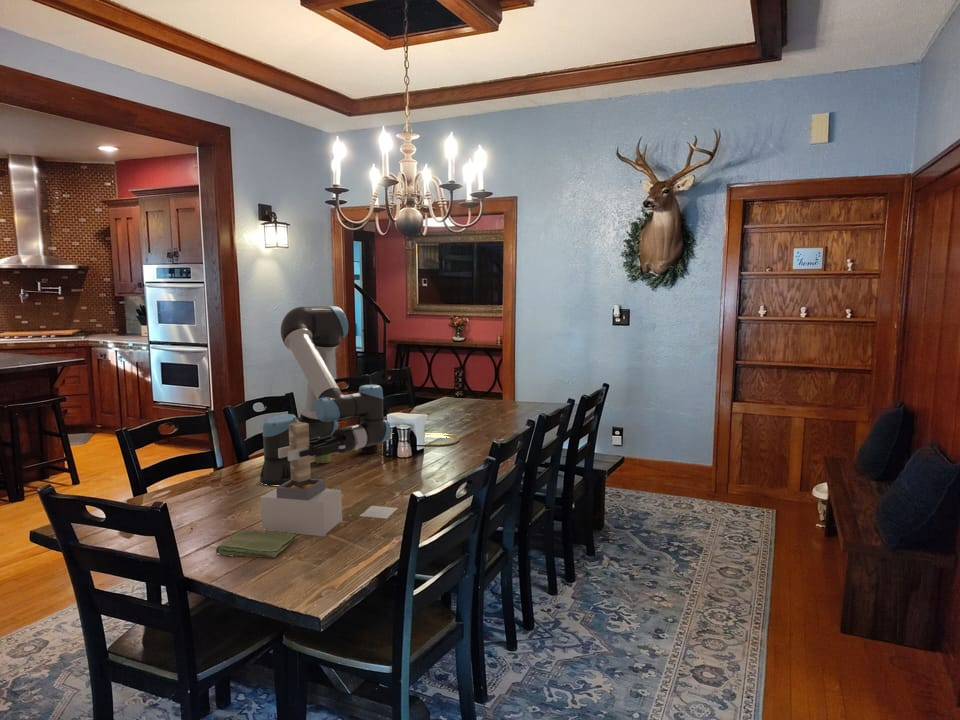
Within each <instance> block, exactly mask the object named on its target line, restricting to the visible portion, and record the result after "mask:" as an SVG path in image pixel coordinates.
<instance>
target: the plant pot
mask: <svg viewBox="0 0 960 720" xmlns="http://www.w3.org/2000/svg"><path fill="white" fill-rule="evenodd" d="M313 457H314V463H316V464H319V463H322V464H328V463H330V462H331V461H332V453H331V454H327V455H323V456H319V457H316V456H315V455H314V456H313Z"/></svg>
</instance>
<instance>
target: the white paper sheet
mask: <svg viewBox="0 0 960 720" xmlns="http://www.w3.org/2000/svg"><path fill="white" fill-rule="evenodd" d="M398 509H399V508H398V507H388V506H379V505H370V506H369V507H368V508H367V509H366V510H365V511H364V512H363V513H361V514H360V515H359V517H367V518H377V519H387V520H388V519H389V518H390V516H392V515H393V514H394V513H395V512H396V511H397V510H398Z"/></svg>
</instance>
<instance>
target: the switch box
mask: <svg viewBox="0 0 960 720" xmlns="http://www.w3.org/2000/svg"><path fill="white" fill-rule="evenodd" d="M311 484H314V485H312V486H310V487H309V488H307V489H301V488H290V487H291V486H293V485H291V480H289V481H287V482H286V483H284V484H282V485H280V486H276V488H274V489H272V490H270V491H268V492H266V493H265V494H263V495H261V496H260V512H261V514H260V515H261V530H262V529H265V530H272V531H271V532H275V531H278V532H284V533H285V532H287V533H289V534H294V533H296V534H295V535H304V536H305V535H306V536H316V537H326V536H328V534H329V532H330V531H331V530H332V529H333V528H335V527H336V526H338V524H340V523H341V522H342V521H343V506H342V505H343V503H342V502H343V501H342V489H331V488H326V480H325V479H324V478H323V479H320V478H311ZM265 530H264V531H265Z"/></svg>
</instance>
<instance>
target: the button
mask: <svg viewBox="0 0 960 720" xmlns="http://www.w3.org/2000/svg"><path fill="white" fill-rule="evenodd" d="M312 485H314V484H308V485H305V486H302V487H297V486H294V485H293V486H291V487H290V488H301V489H307V488H309V487H310V486H312Z"/></svg>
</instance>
